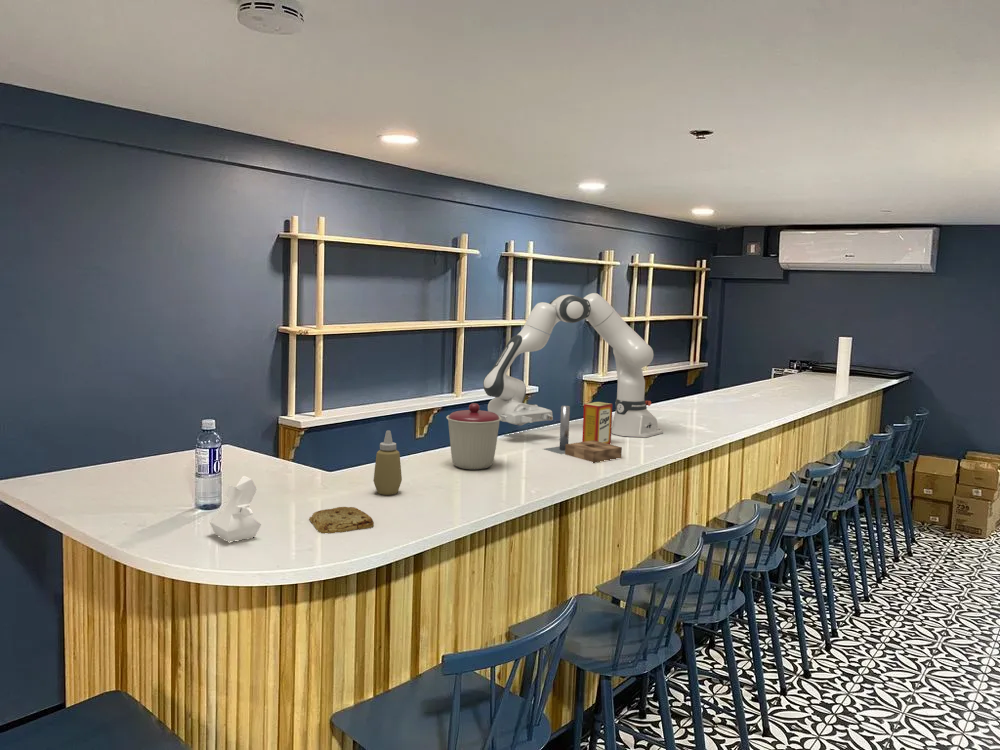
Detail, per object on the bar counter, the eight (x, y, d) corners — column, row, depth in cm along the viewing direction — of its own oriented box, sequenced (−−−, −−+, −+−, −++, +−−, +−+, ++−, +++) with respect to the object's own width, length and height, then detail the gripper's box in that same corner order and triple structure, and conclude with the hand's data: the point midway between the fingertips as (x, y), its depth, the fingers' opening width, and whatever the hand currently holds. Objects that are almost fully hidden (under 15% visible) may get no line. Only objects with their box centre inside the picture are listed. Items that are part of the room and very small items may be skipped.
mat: (566, 446, 297) (566, 445, 297) (585, 451, 289) (585, 450, 289) (542, 450, 290) (542, 448, 290) (561, 455, 282) (561, 454, 282)
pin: (564, 448, 292) (565, 405, 290) (570, 449, 289) (571, 406, 287) (557, 449, 290) (559, 406, 288) (563, 450, 287) (565, 407, 285)
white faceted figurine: (232, 548, 177) (231, 488, 175) (205, 533, 187) (204, 476, 185) (267, 540, 183) (266, 482, 181) (239, 526, 193) (238, 471, 191)
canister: (433, 465, 261) (435, 402, 258) (472, 457, 274) (474, 397, 271) (472, 476, 249) (474, 409, 246) (511, 467, 262) (513, 404, 259)
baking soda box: (596, 447, 297) (598, 405, 295) (582, 444, 302) (583, 403, 300) (610, 444, 304) (612, 402, 302) (596, 441, 309) (598, 400, 307)
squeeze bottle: (389, 498, 221) (390, 434, 219) (367, 493, 225) (367, 431, 223) (407, 492, 228) (408, 430, 225) (385, 487, 232) (386, 427, 230)
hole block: (592, 451, 291) (593, 440, 290) (621, 458, 280) (621, 447, 279) (565, 455, 282) (565, 444, 281) (593, 463, 271) (593, 451, 270)
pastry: (327, 511, 208) (327, 500, 208) (387, 519, 203) (387, 507, 203) (291, 530, 192) (291, 518, 191) (356, 539, 187) (356, 527, 186)
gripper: (498, 407, 302) (521, 413, 291) (538, 404, 314) (562, 409, 304) (497, 424, 302) (520, 430, 292) (537, 419, 315) (561, 425, 304)
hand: (542, 419), depth 298 cm, fingers open, 8 cm apart
